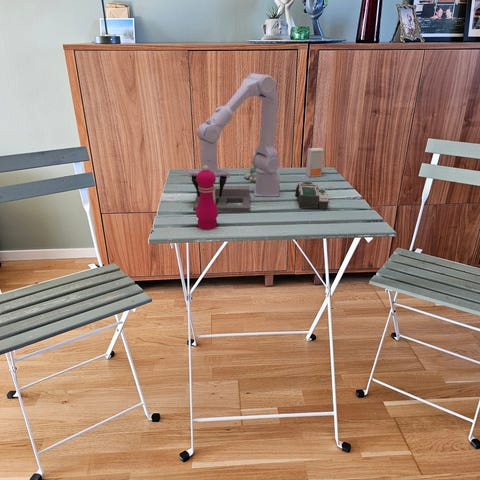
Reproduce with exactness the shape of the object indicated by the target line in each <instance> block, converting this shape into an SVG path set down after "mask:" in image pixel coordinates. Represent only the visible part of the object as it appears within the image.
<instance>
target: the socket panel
mask: <svg viewBox="0 0 480 480" xmlns="http://www.w3.org/2000/svg"><path fill="white" fill-rule="evenodd" d="M215 186H216V203H217V204H216V206H217V209H218V212H234V213H235V212H237V213H238V212H242V213H244V212H245V213H247V212H249V213H250V212H251V205H250V204H251V203H250V202H251V198H250V197H251V196H250V195H251V192H250V190H251V189H250V188H251V187H250V185H224V187H223V190H222V196H221V197H219V192H220V185H215ZM199 200H200V197H198V194H197V193H196V197H195V199H194V203H193V206H192V210H193V211H192V212H196V208H197V205H198V203H199ZM229 202H230V203H231V202H232V203H233V202H234V203H238V202H239V203H240V202H241V203H242V205H241V204H238V205H237V204H236V205H234V204H227V203H229Z"/></svg>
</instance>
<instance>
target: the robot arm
mask: <svg viewBox="0 0 480 480" xmlns="http://www.w3.org/2000/svg"><path fill="white" fill-rule="evenodd" d="M250 97H258V98H259V99H260V101H261V102H262V104H261V105H262V106H261V119H260V134H259V144H258V146H257V147H256V148H255V152H254V154H253V157H252V164H253V165H254V166H255V170H256V181H255V188H254V189H253V190H254V191H253V192H254V194H253V195H254V197H272V198H273V197H276V198H277V197H280V189H281V186H280V185H281V173H280V171H277V170H278V169H279V166H280V161H279V152H278V151H277V149H276V148H275V139H276V138H275V137H276V128H277V127H276V126H277V116H278V115H277V114H278V104H279V94H278V91H277V80H276V79H275V78H274V77H273V76H272V75H270V74H261V73H257V72H256V73H255V72H252V73H249V74H248V75H247V76H246V77H245V78H244V79H243V80H242V83H241V85H240V87H239V88H238V89H237V90H236V92H235V93H234V94H233V95H232V97H231V98H230V99H229V100H228V102H227V103H226V104H225V105H221V106H219V107H216V108H215V109H214V110H215V112H213V114H212V115H211V116H210V117H209V118H207V119H206V120H205V122H204V123H201V124H200V125H199V126H198V129H197V131H196V133H195V134H196V136H197V137H198V139H199V146H200V148H199V149H200V151H199V152H200V169H196V170H195V169H194V170H191V169H190V170H188V172H187V173H188V175H187V176H188V178H191V182H192V184H193V186H194V188H195V190H196V195H197V194H198V197H200V191H199V190H198V189H199V188H198V186H199V184H198V183H197V181H196V177H197V174H198V173H199V172H200V171H202V170H203V166H205V165H206V166H208V168H209V169H208V170H210V171H212V172H213V173H214V174H215V177H216V178H219V179H218V181H219V183H218V184H219V186H220V192H219V197H221V196H222V190H223V187H224V186H226V182H227V179H229V178H230V177H231V171H230V170H222V169H220V170H219V169H218V141H219V140H220V137H221V132H222V131H223V130H224V129H225V127H227V125H229V123H230V122H231V121H232V120H233V116H234V112H235V111H236V110H238V109H239V107H240V106H242V104H243V103H244V102H245V101H247V99H248V98H250Z"/></svg>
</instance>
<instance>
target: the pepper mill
mask: <svg viewBox="0 0 480 480" xmlns="http://www.w3.org/2000/svg"><path fill="white" fill-rule="evenodd" d="M208 169H209V168H208V166H206V165H205V166H203V170H202V171H200V172H199V173H198V174H197V177H196V181H197V183H198V184H199V186H198V188H199V189H198V190H199V191H200V200H199V203H198V205H197V208H196V211H195V216H196V218H197V227H198V228H199V229H203V230H211V229H215V228H216V227H217V226H218V220H217V218H218V216H219V211H218V209H217V206H216V205H217V203H216V204H215V202H214V199H213V191H214V186H215V183H216V181H217V180H216V178H217V177H215V174H214V173H213V172H212V171H210V170H208Z"/></svg>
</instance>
